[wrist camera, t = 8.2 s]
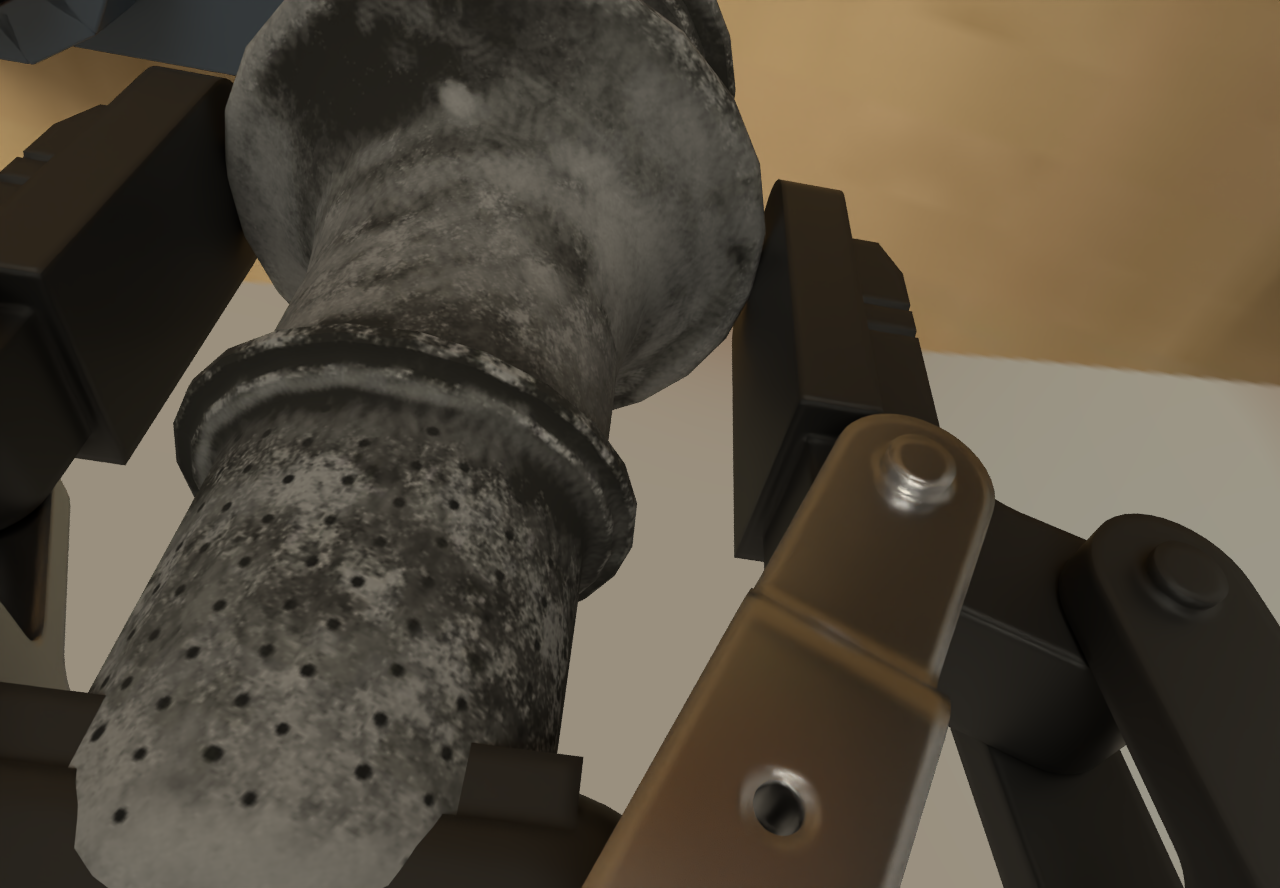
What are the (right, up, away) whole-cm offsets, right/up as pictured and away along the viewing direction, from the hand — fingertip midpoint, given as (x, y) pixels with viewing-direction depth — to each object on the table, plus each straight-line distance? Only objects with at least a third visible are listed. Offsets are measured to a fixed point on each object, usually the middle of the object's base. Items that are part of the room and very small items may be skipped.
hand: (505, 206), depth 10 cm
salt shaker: (0, +2, +2) cm, 3 cm away
